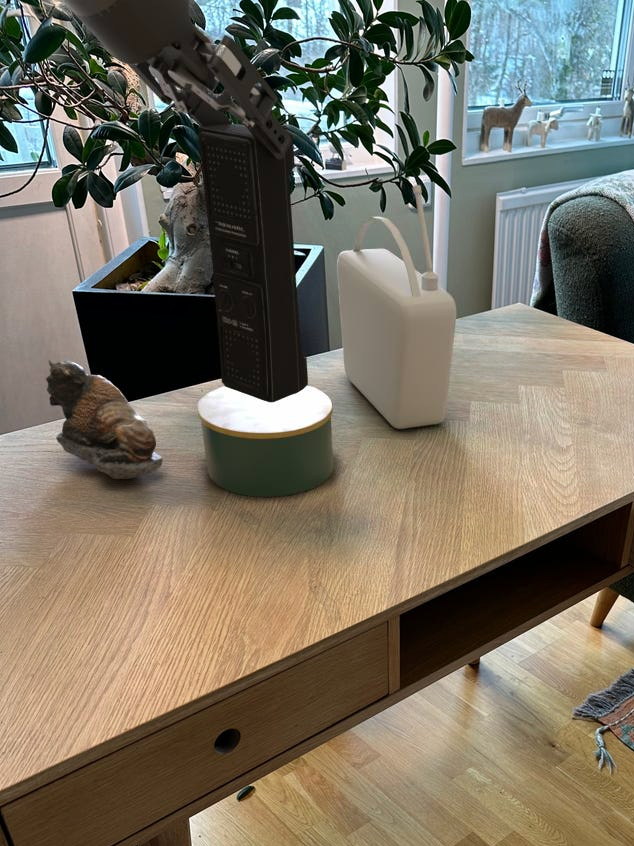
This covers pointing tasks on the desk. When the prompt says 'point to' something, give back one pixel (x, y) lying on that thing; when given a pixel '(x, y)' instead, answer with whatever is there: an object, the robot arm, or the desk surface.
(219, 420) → the tin
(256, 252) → the portable radio
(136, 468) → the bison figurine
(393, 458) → the desk surface
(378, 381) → the white watering can
